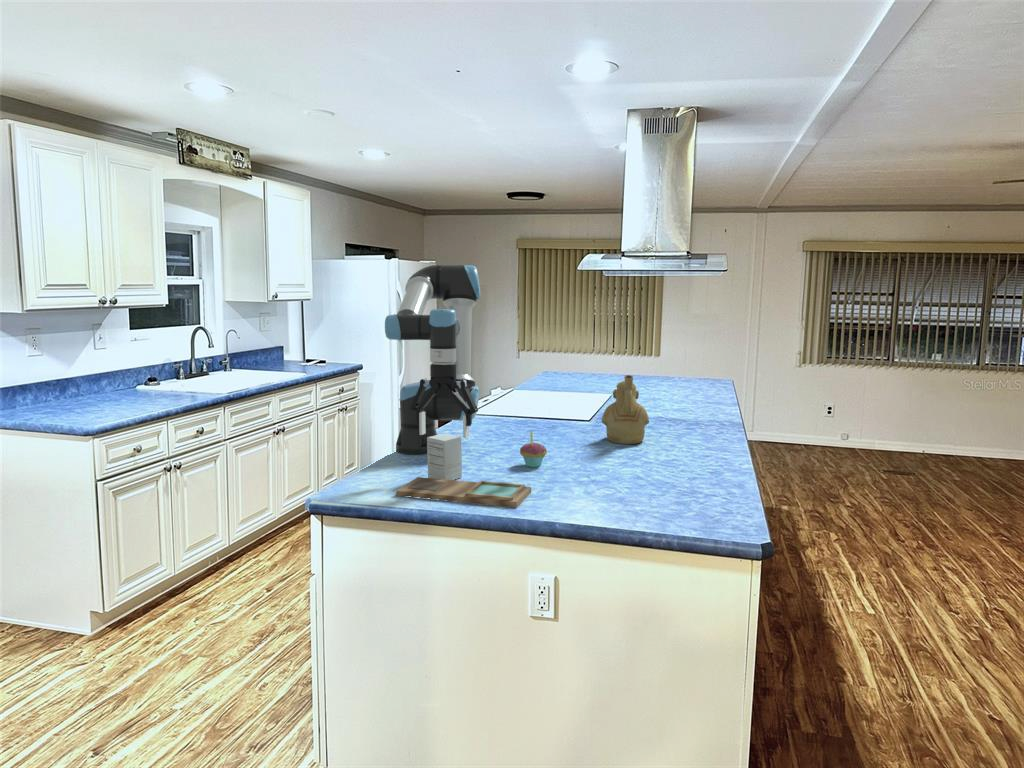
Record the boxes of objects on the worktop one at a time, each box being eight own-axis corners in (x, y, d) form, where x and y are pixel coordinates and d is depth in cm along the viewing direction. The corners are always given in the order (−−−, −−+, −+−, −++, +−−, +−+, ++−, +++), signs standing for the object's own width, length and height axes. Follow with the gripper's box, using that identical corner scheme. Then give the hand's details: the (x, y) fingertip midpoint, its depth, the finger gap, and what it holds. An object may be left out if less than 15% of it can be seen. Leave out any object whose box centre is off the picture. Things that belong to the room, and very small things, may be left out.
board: (396, 496, 191) (396, 487, 191) (417, 482, 205) (417, 474, 204) (516, 507, 182) (516, 499, 181) (531, 492, 195) (531, 484, 195)
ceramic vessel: (646, 435, 267) (647, 369, 263) (650, 447, 247) (653, 376, 244) (600, 434, 268) (601, 369, 265) (601, 446, 249) (603, 376, 245)
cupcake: (542, 469, 218) (542, 431, 216) (515, 467, 221) (516, 429, 219) (549, 463, 226) (550, 426, 224) (524, 460, 229) (524, 424, 227)
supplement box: (444, 473, 214) (444, 432, 212) (462, 478, 209) (462, 436, 207) (426, 478, 208) (426, 436, 206) (444, 483, 203) (444, 440, 202)
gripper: (398, 362, 204) (399, 435, 206) (479, 365, 197) (480, 440, 199) (409, 360, 211) (410, 430, 214) (488, 363, 204) (488, 435, 206)
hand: (444, 435), depth 206 cm, fingers open, 13 cm apart
